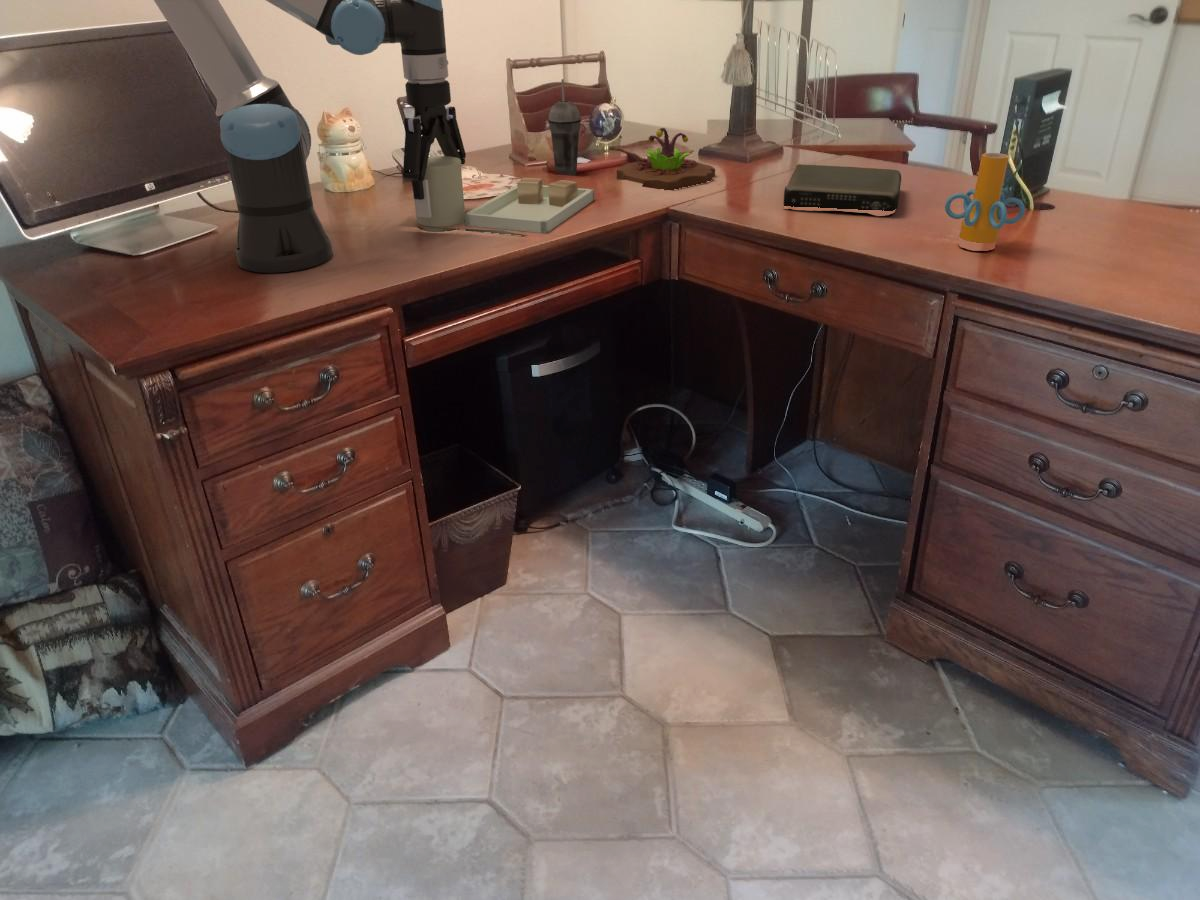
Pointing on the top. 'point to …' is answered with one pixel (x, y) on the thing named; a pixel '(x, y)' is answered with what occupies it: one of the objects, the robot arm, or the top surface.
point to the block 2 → (562, 192)
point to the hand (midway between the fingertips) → (440, 208)
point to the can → (444, 194)
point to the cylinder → (986, 202)
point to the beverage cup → (565, 135)
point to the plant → (666, 167)
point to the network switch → (843, 188)
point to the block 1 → (530, 191)
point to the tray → (524, 213)
